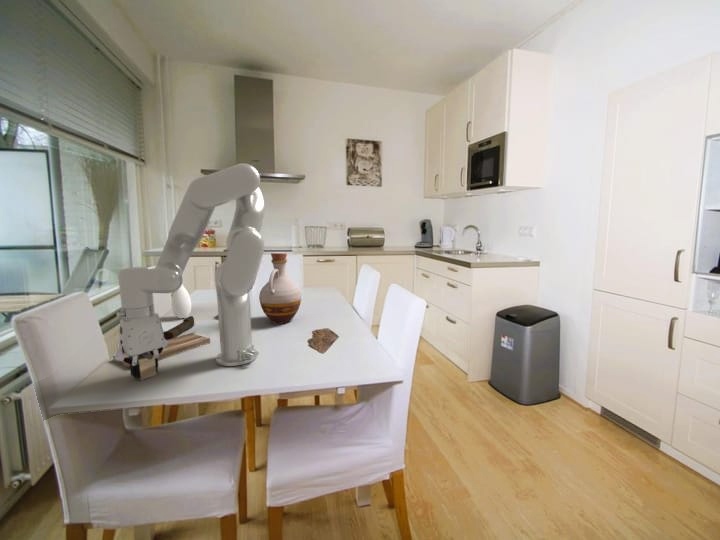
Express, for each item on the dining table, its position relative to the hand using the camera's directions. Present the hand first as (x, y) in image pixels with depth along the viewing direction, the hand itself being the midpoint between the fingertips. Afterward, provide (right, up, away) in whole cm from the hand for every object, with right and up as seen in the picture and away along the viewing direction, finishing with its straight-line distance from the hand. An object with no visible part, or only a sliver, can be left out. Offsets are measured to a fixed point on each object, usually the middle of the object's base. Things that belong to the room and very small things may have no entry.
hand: (145, 373), depth 97 cm
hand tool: (-10, +4, +38) cm, 39 cm away
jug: (+27, +7, +51) cm, 58 cm away
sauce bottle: (-19, +8, +56) cm, 60 cm away
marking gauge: (0, -1, 0) cm, 1 cm away
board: (-5, +2, +18) cm, 19 cm away
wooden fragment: (+48, +3, +29) cm, 56 cm away
